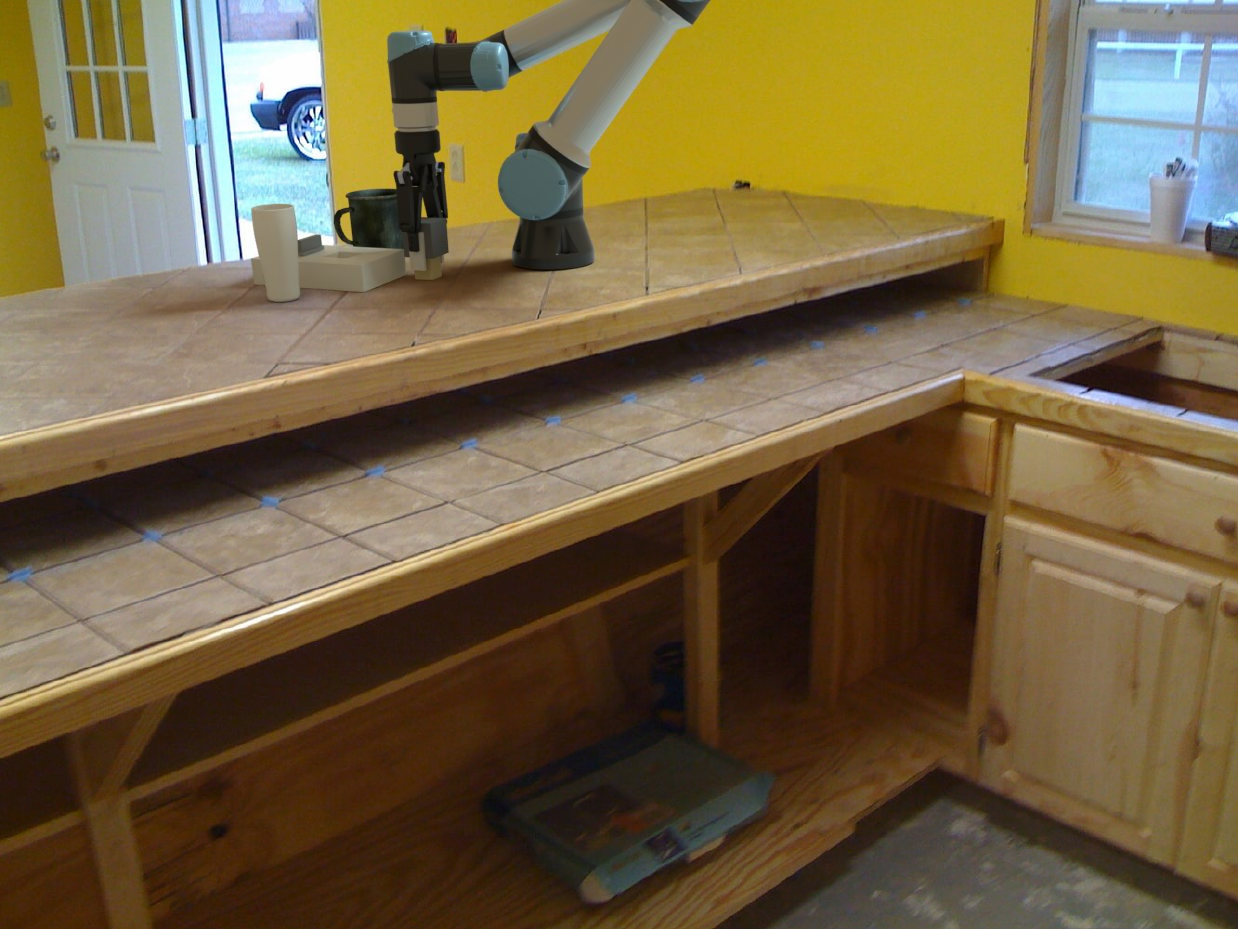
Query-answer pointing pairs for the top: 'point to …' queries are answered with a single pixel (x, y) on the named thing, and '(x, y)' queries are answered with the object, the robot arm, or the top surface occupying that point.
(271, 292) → the drinking glass
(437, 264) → the plug
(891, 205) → the top surface
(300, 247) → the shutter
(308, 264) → the socket
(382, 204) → the mug
